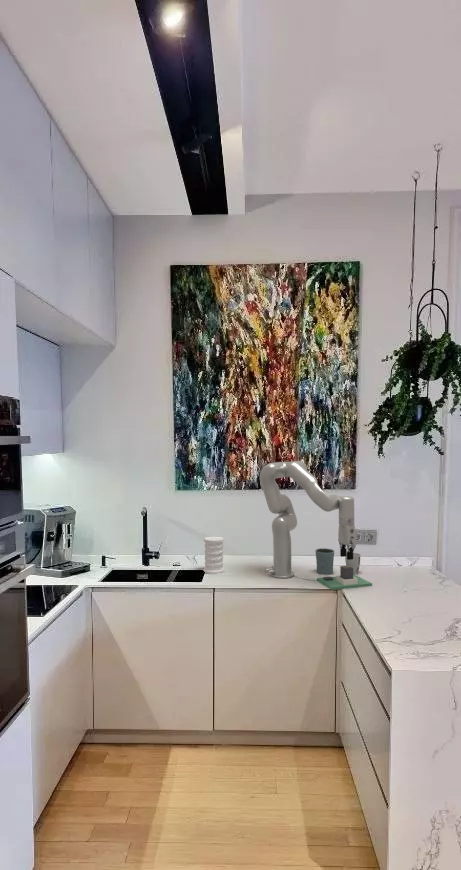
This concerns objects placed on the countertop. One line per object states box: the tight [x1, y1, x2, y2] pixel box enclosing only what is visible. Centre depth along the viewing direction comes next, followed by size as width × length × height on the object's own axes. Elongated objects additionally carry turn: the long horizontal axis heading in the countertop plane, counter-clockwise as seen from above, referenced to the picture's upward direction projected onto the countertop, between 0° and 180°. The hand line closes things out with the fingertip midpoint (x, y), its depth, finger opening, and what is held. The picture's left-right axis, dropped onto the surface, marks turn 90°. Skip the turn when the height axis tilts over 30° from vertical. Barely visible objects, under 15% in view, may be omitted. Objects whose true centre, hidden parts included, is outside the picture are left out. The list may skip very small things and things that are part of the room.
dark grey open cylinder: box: [315, 547, 335, 576], centre depth 258 cm, size 10×10×12 cm
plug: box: [339, 565, 354, 580], centre depth 236 cm, size 5×4×7 cm
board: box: [316, 574, 373, 591], centre depth 239 cm, size 22×16×4 cm
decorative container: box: [202, 535, 226, 575], centre depth 261 cm, size 12×12×18 cm
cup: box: [344, 552, 361, 575], centre depth 257 cm, size 8×8×10 cm
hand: (346, 557), depth 236 cm, fingers open, 5 cm apart
